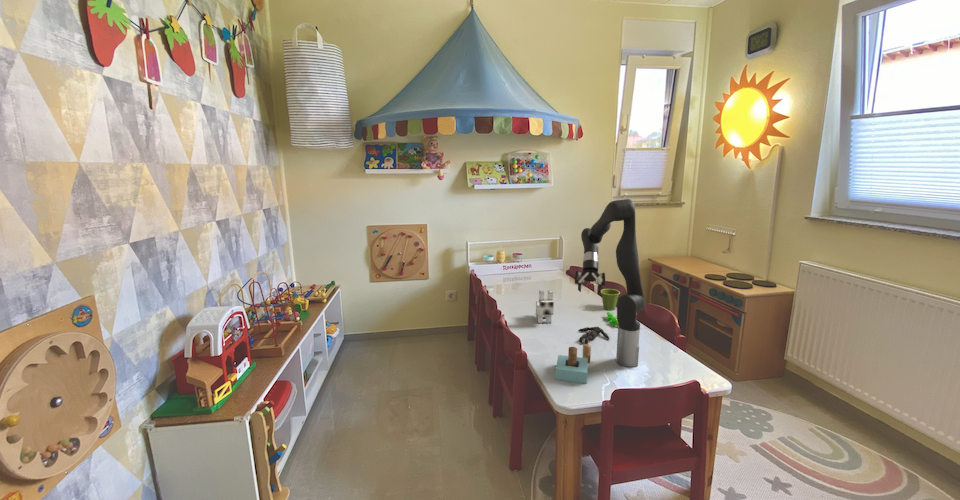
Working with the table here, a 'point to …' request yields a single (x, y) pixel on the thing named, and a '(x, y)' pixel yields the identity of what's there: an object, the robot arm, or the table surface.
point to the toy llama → (544, 307)
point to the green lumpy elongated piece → (612, 319)
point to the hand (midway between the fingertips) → (589, 291)
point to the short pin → (587, 352)
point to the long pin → (572, 356)
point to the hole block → (571, 370)
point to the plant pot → (609, 298)
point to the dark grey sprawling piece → (591, 334)
